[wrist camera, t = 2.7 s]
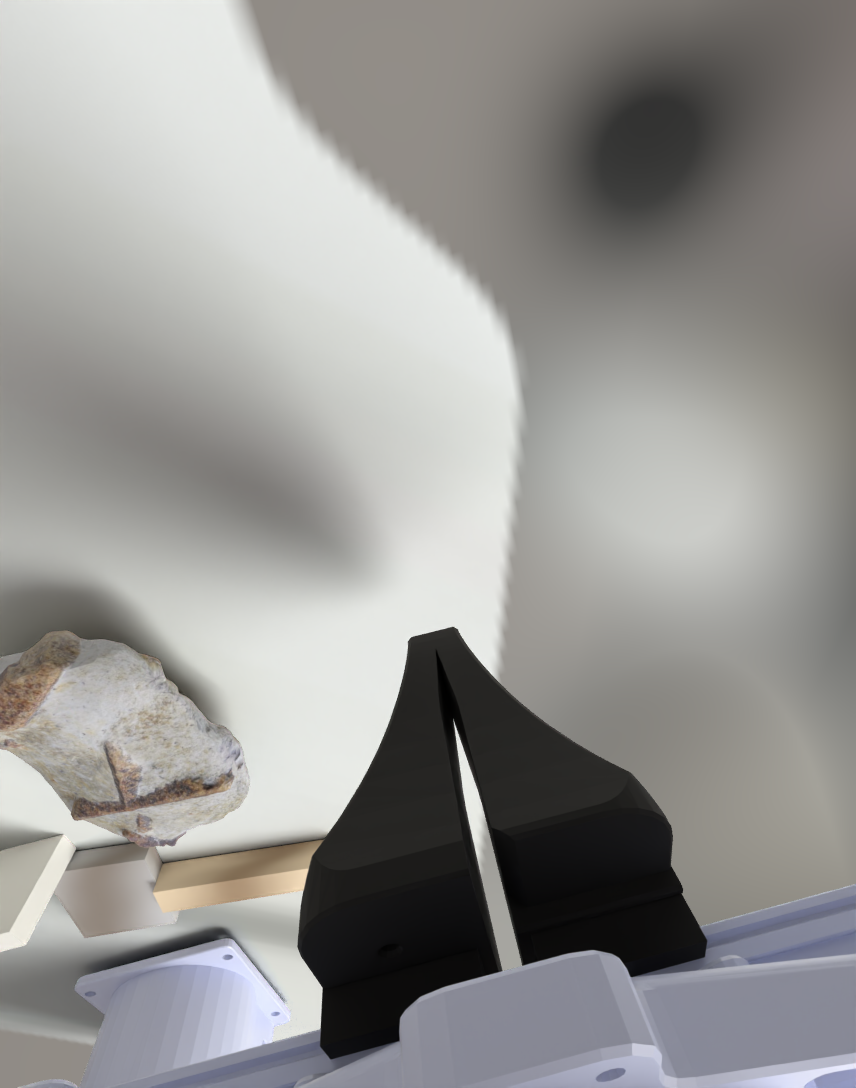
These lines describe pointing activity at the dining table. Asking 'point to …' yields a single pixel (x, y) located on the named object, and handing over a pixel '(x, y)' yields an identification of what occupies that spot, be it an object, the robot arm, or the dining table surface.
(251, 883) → the scoop
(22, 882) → the bin
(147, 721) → the stone
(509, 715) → the robot arm
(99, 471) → the dining table surface
